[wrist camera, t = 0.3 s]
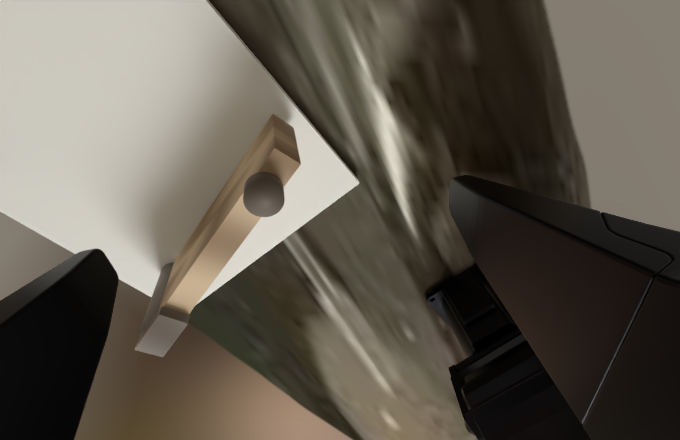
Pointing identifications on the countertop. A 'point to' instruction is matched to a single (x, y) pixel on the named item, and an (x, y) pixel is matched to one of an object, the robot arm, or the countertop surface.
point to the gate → (224, 230)
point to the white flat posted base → (142, 132)
